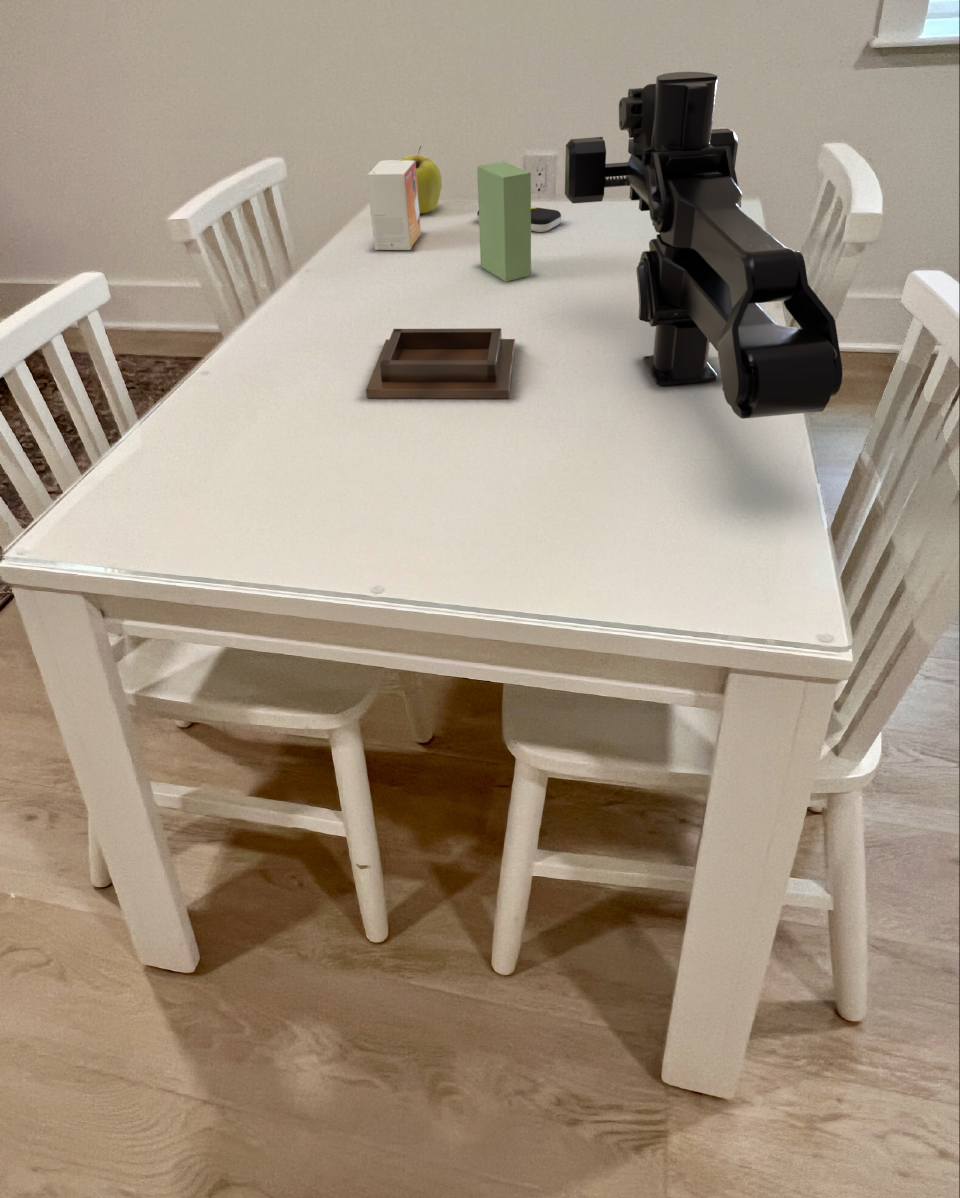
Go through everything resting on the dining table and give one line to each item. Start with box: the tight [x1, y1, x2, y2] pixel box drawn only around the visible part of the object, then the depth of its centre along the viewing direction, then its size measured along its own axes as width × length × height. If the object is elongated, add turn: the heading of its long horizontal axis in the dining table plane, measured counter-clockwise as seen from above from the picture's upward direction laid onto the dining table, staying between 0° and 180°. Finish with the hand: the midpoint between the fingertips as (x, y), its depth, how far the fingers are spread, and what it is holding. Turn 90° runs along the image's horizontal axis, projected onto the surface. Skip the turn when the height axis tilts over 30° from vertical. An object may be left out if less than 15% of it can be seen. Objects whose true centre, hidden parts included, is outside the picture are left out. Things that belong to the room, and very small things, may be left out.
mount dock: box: [365, 327, 516, 399], centre depth 97 cm, size 15×13×3 cm
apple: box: [398, 145, 443, 214], centre depth 142 cm, size 8×8×10 cm
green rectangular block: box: [476, 161, 532, 282], centre depth 118 cm, size 4×7×13 cm, turn 28°
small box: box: [365, 160, 422, 251], centre depth 130 cm, size 8×6×10 cm
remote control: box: [476, 206, 562, 233], centre depth 138 cm, size 6×13×2 cm, turn 58°
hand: (631, 148), depth 105 cm, fingers open, 9 cm apart
